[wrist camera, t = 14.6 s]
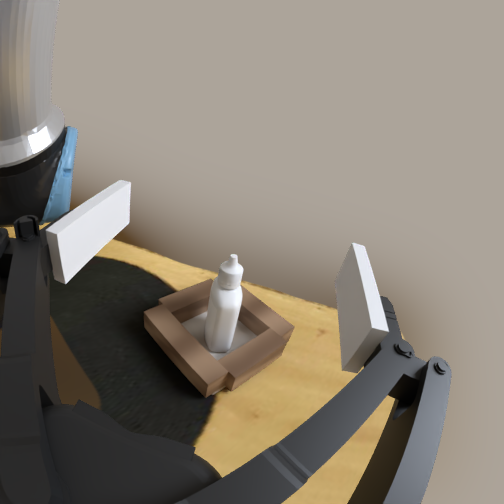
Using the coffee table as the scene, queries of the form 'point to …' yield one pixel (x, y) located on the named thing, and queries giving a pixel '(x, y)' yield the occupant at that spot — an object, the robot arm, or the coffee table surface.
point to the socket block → (194, 345)
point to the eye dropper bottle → (224, 306)
